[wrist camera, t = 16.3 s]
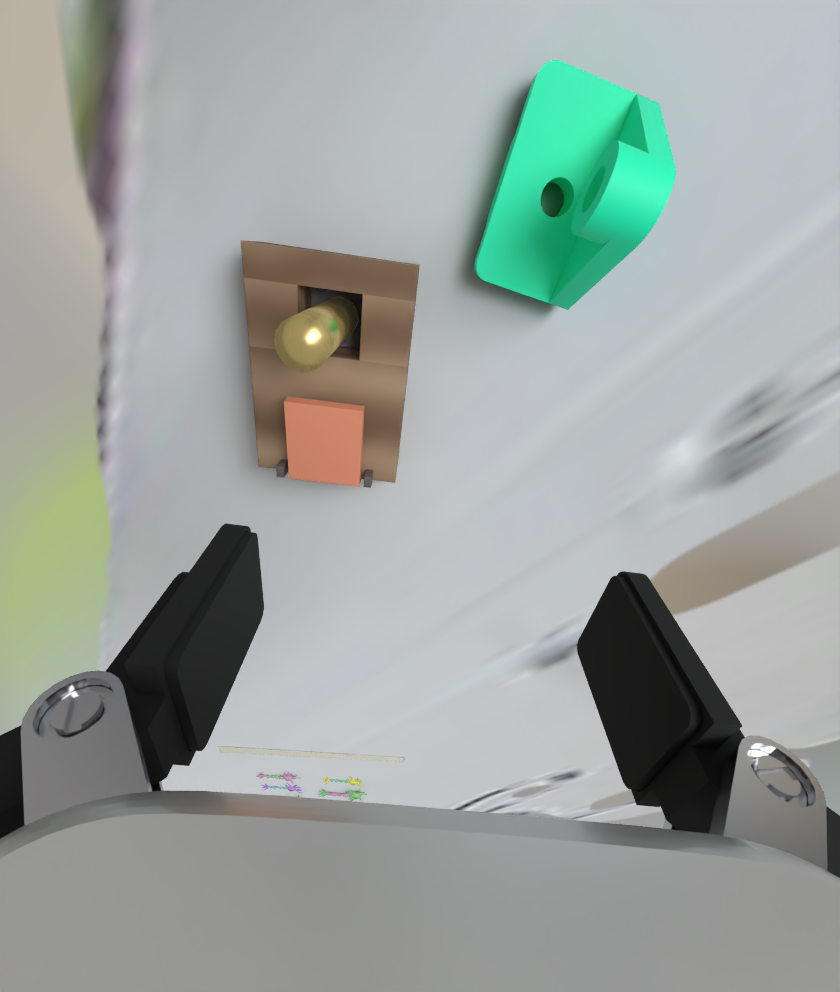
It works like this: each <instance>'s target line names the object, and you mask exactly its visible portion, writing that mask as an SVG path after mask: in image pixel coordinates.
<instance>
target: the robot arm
mask: <svg viewBox="0 0 840 992" xmlns="http://www.w3.org/2000/svg"><path fill="white" fill-rule="evenodd" d="M263 611H264V602H263V591H262V580H261V570H260V559H259V548H258V537H257V534H256V533H251V530H250V528H249V527H248V526H241V525H233V524H224V525H223V526H222V527H221V528H220V530H219V531H218V532H217V534H216V535H215V537H214V538H213V540H212V541H211V542H210V544H209V545H208V547H207V548H206V549H205V551H204V552H203V554H202V555H201V556H200V558H199V559H198V561H197V562H196V563H195V565H194V566H193V568H192V569H191V570H190V572H189V573H188V572H182V573H180V574H178V576H177V577H176V578H175V579H174V580H173V581H172V583H171V584H170V585H169V587H168V588H167V589H166V591H165V592H164V593H163V595H162V596H161V597H160V599H159V600H158V601H157V603H156V604H155V606H154V607H153V608H152V610H151V611H150V612H149V614H148V615H147V616H146V618H145V619H144V620H143V622H142V623H141V624H140V626H139V627H138V628H137V630H136V631H135V632H134V634H133V635H132V637H131V638H130V639H129V641H128V642H127V643H126V645H125V646H124V647H123V649H122V650H121V651H120V653H119V654H118V655H117V657H116V658H115V659H114V661H113V662H112V663H111V665H110V666H109V668H108V669H107V670H106V672H104V671H91V672H84V673H80V674H77V675H74V676H70V677H68V678H66V679H64V680H62V681H60V682H58V683H57V684H55V685H53V686H52V687H51V688H49V689H48V690H46V691H45V692H44V693H42V694H41V695H40V696H39V697H38V698H37V699H36V700H35V701H34V703H33V704H32V705H31V706H30V707H29V709H28V711H27V712H26V714H25V716H24V718H23V721H22V725H21V726H19V727H17V728H15V729H13V730H11V731H9V732H7V733H5V734H2V735H1V736H0V992H840V816H839V815H838V814H836V813H835V812H834V811H832V810H831V809H829V808H828V807H827V806H826V800H825V796H824V792H823V790H822V788H821V786H820V784H819V782H818V780H817V779H816V777H815V776H814V775H813V774H812V772H811V771H810V770H809V768H808V767H807V766H806V765H805V764H804V763H803V762H802V761H801V760H800V759H799V758H798V757H797V756H795V755H794V754H793V753H791V752H790V751H789V750H787V749H786V748H785V747H783V746H782V745H780V744H778V743H776V742H774V741H772V740H770V739H767V738H764V737H760V736H748V737H746V738H745V737H744V736H743V734H742V732H741V731H740V728H741V727H742V724H741V723H740V721H739V720H738V718H737V717H736V715H735V713H734V712H733V710H732V709H731V707H730V706H729V704H728V702H727V701H726V699H725V698H724V696H723V695H722V693H721V691H720V690H719V688H718V687H717V685H716V684H715V682H714V680H713V679H712V677H711V676H710V674H709V673H708V671H707V669H706V668H705V666H704V665H703V663H702V662H701V660H700V658H699V657H698V655H697V654H696V652H695V651H694V649H693V647H692V646H691V644H690V643H689V641H688V640H687V638H686V636H685V635H684V633H683V632H682V630H681V629H680V627H679V625H678V624H677V622H676V621H675V619H674V618H673V616H672V614H671V613H670V611H669V610H668V608H667V607H666V605H665V604H664V602H663V600H662V599H661V597H660V596H659V594H658V592H657V591H656V589H655V588H654V586H653V585H652V583H651V581H650V580H649V578H648V577H647V576H646V575H644V574H640V573H631V572H620V573H618V575H617V576H613V577H612V578H611V579H610V581H609V583H608V585H607V587H606V589H605V591H604V593H603V594H602V596H601V598H600V600H599V602H598V604H597V606H596V608H595V610H594V612H593V614H592V615H591V617H590V619H589V621H588V623H587V625H586V627H585V629H584V631H583V633H582V634H581V636H580V638H579V640H578V644H577V651H578V655H579V658H580V661H581V664H582V667H583V670H584V672H585V675H586V678H587V681H588V684H589V687H590V689H591V692H592V695H593V698H594V701H595V704H596V706H597V709H598V712H599V715H600V718H601V721H602V723H603V726H604V729H605V732H606V735H607V738H608V740H609V743H610V746H611V749H612V752H613V754H614V757H615V760H616V763H617V766H618V769H619V771H620V774H621V777H622V780H623V782H624V784H625V786H626V787H627V788H628V789H631V790H632V793H633V796H634V798H635V801H636V804H637V805H643V806H655V807H660V806H661V808H662V810H663V813H664V815H665V818H666V819H665V822H664V826H663V829H661V828H652V827H643V826H632V825H621V824H610V823H599V822H588V821H577V820H565V819H554V818H542V817H532V816H520V815H509V814H497V813H485V812H473V811H462V810H450V809H438V808H426V807H414V806H402V805H390V804H377V803H364V802H352V801H339V800H327V799H314V798H301V797H289V796H275V795H258V794H242V793H225V792H209V791H163V787H162V783H161V781H162V780H163V779H165V778H166V777H167V776H168V774H169V771H170V769H171V767H172V765H173V764H174V765H186V766H189V765H190V763H191V760H192V758H193V756H194V754H195V752H196V751H202V750H203V749H204V748H205V746H206V745H207V743H208V740H209V738H210V736H211V734H212V731H213V729H214V727H215V724H216V722H217V720H218V718H219V715H220V713H221V711H222V708H223V706H224V704H225V702H226V699H227V697H228V695H229V692H230V690H231V688H232V686H233V683H234V681H235V679H236V676H237V674H238V672H239V670H240V667H241V665H242V663H243V660H244V658H245V656H246V654H247V651H248V649H249V647H250V644H251V642H252V640H253V638H254V635H255V633H256V631H257V628H258V626H259V624H260V622H261V619H262V616H263Z"/></svg>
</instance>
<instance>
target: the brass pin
mask: <svg viewBox="0 0 840 992" xmlns="http://www.w3.org/2000/svg"><path fill="white" fill-rule="evenodd" d="M357 324H358V313H357V310H356V308H355V306H354V304H353V303H352V302H351V301H350V300H348V299H346V298H344V297H340V296H337V297H332V298H330V299H328V300H326V301H323V302H321V303H319V304H317V305H315V306H313V307H311V308H309V309H306V310H304V311H302V312H300V313H298V314H296V315H294V316H292V317H289V318H287V319H285V320H284V321H283V322H281V323H280V325H279V326H278V327H277V329H276V332H275V337H274V344H275V349H276V352H277V354H278V356H279V357H280V359H281V360H282V361H283V362H284V363H285V364H286V365H287V366H288V367H290V368H291V369H294V370H296V371H300V372H310V371H313V370H315V369H317V368H319V367H320V366H321V365H322V364H323V363H324V362H325V361H326V360H327V359H328V358H329V356H330V355H331V354H332V353H333V352H334V351H335V350H336V349H337V348H338V347H339V346H340V345H341V344H342V343H343V342H344V341H345V340H346V338H347V337H348V336H349V335H350V334H351V333H352V332H353V331H354V330H355V328H356V327H357Z"/></svg>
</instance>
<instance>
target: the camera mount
mask: <svg viewBox="0 0 840 992" xmlns="http://www.w3.org/2000/svg"><path fill="white" fill-rule="evenodd" d="M675 175H676V167H675V163H674V159H673V156H672V152H671V148H670V144H669V140H668V136H667V132H666V128H665V124H664V121H663V117H662V113H661V109H660V105H659V103H657V102H655V101H652V100H650V99H648V98H645V97H643V96H641V95H638V94H636V93H634V92H631V91H629V90H627V89H625V88H622V87H620V86H618V85H615V84H613V83H611V82H608V81H606V80H604V79H601V78H599V77H597V76H594V75H592V74H590V73H587V72H585V71H583V70H581V69H578V68H576V67H574V66H571V65H569V64H567V63H564V62H562V61H559V60H552V61H549V62H547V63H546V64H545V65H543V66H542V68H541V69H540V70H539V72H538V74H537V75H536V77H535V78H534V80H533V82H532V84H531V86H530V89H529V93H528V96H527V99H526V102H525V105H524V108H523V111H522V115H521V118H520V121H519V124H518V127H517V130H516V133H515V136H514V138H513V140H512V141H511V145H510V148H509V151H508V154H507V157H506V160H505V163H504V167H503V170H502V173H501V176H500V179H499V182H498V185H497V189H496V192H495V195H494V198H493V201H492V204H491V208H490V211H489V214H488V217H487V220H486V221H487V224H486V227H485V231H484V234H483V237H482V240H481V243H480V246H479V249H478V252H477V256H476V259H475V263H474V269H475V272H476V274H477V276H478V277H479V278H480V279H482V280H484V281H486V282H489V283H492V284H495V285H498V286H501V287H503V288H506V289H509V290H512V291H515V292H518V293H521V294H524V295H527V296H530V297H532V298H535V299H538V300H541V301H544V302H547V303H550V304H553V305H556V306H559V307H561V308H564V309H567V310H568V309H569V308H570V307H571V306H572V305H574V304H575V303H576V302H577V301H578V300H579V299H580V298H581V297H582V296H583V295H584V294H586V293H587V292H588V291H589V290H590V289H591V288H592V287H593V286H594V285H595V284H596V283H598V282H599V281H600V280H601V279H602V278H603V277H604V276H605V275H606V274H607V273H608V272H610V271H611V270H612V269H613V268H614V267H615V266H616V265H617V264H618V263H619V262H620V261H622V260H623V259H624V258H625V257H626V256H627V255H628V254H629V253H630V252H631V251H633V250H634V249H635V248H636V247H637V246H638V245H639V244H640V243H641V242H642V241H643V239H644V238H645V237H646V236H647V234H648V233H649V232H650V230H651V229H652V227H653V226H654V224H655V223H656V221H657V220H658V218H659V216H660V214H661V213H662V211H663V209H664V207H665V205H666V203H667V200H668V198H669V196H670V193H671V191H672V188H673V184H674V180H675ZM547 183H555V184H557V185H558V186H559V187H560V188H561V190H562V192H563V197H564V200H563V205H562V208H561V210H560V211H559V213H558V214H557V215H556V216H555V217H550V216H548V215H547V214H545V213H544V211H543V209H542V207H541V194H542V191H543V189H544V187H545V186H546V184H547Z"/></svg>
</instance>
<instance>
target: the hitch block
mask: <svg viewBox="0 0 840 992" xmlns="http://www.w3.org/2000/svg"><path fill="white" fill-rule="evenodd" d="M241 249H242V262H243V274H244V287H245V299H246V312H247V324H248V337H249V349H250V362H251V375H252V387H253V400H254V412H255V425H256V437H257V450H258V462H259V467H267V468H276V471H277V477H285V475H286V473H287V472H288V455H287V441H286V426H285V412H284V400H285V399H286V398H287V396H290V397H298V398H305V399H313V400H321V401H329V402H337V403H345V404H352V405H360V406H365V408H364V428H363V448H362V467H361V479H364V487H369V488H371V484H372V480H377V481H385V482H394V483H395V478H396V471H397V464H398V456H399V447H400V437H401V428H402V419H403V410H404V401H405V392H406V383H407V374H408V365H409V356H410V347H411V338H412V329H413V320H414V311H415V302H416V292H417V283H418V274H419V265H416V264H409V263H402V262H396V261H389V260H382V259H375V258H368V257H361V256H354V255H348V254H341V253H334V252H327V251H320V250H313V249H306V248H300V247H293V246H286V245H279V244H272V243H265V242H255V241H241ZM311 287H315V288H322V289H329V290H336V291H343V292H351V293H358V294H363V300H362V319H361V339H360V349H355V348H348V347H340V346H339V347H338V348H337V349H336V350H335V351H334V352H333V353H332V354H331V355H330V356H329V358H328V359H327V360H326V361H325V362H324V363H323V364H322V365H321V366H320V367H319V368H317V369H315V370H313V371H310V372H300V371H296V370H294V369H291V368H290V367H288V366H287V365H286V364H285V363H284V362H283V361H282V360H281V359H280V357H279V356H278V354H277V352H276V349H275V344H274V337H275V332H276V329H277V327H278V326H279V325H280V323H281V322H283V321H284V320H285V319H287V318H289V317H292V316H294V315H296V314H298V313H300V312H302V311H304V310H306V309H309V308H311Z"/></svg>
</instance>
